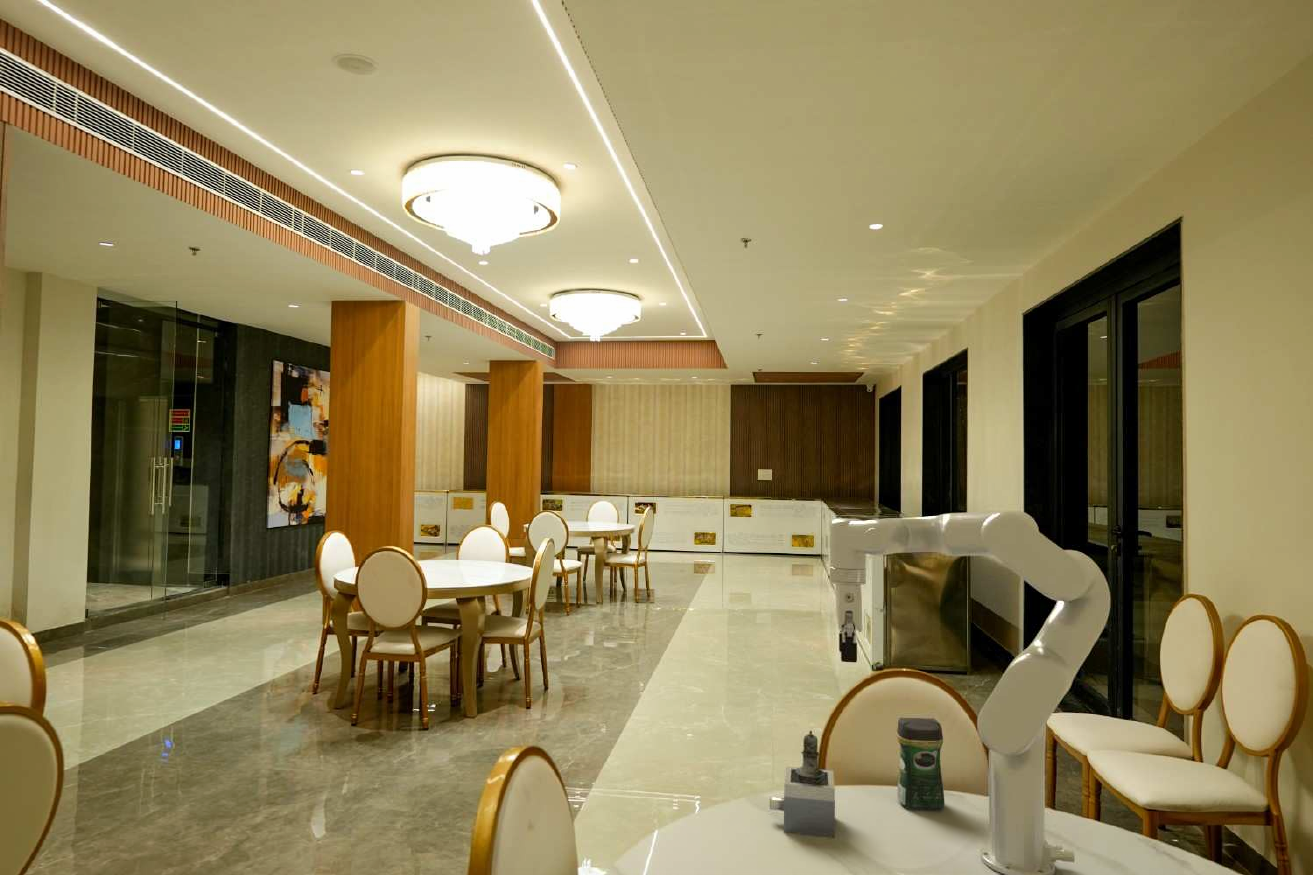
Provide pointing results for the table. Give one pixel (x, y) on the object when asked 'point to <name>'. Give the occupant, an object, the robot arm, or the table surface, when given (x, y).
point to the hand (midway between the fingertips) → (847, 656)
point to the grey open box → (807, 805)
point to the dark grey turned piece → (810, 762)
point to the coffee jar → (920, 764)
